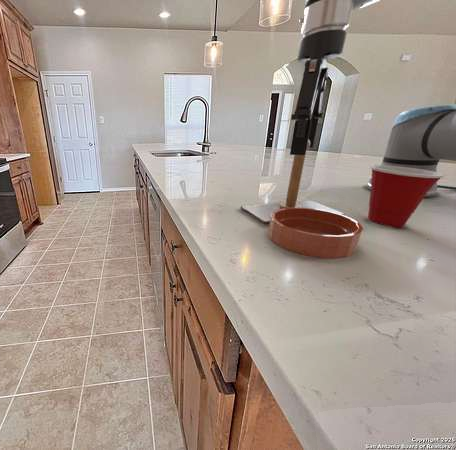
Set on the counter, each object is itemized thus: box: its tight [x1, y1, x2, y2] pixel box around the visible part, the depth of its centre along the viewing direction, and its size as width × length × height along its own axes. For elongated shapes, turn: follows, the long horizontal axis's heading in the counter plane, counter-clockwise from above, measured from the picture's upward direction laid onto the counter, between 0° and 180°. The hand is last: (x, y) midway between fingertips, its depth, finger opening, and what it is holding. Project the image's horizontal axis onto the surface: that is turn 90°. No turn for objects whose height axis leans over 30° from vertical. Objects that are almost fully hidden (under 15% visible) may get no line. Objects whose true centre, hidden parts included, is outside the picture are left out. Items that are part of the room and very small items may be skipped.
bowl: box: [267, 208, 364, 259], centre depth 46 cm, size 14×14×4 cm
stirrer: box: [279, 139, 310, 209], centre depth 56 cm, size 5×5×17 cm
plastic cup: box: [367, 164, 445, 229], centre depth 51 cm, size 11×11×12 cm
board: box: [240, 199, 346, 225], centre depth 60 cm, size 20×11×1 cm, turn 99°
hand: (302, 150), depth 54 cm, fingers open, 13 cm apart
